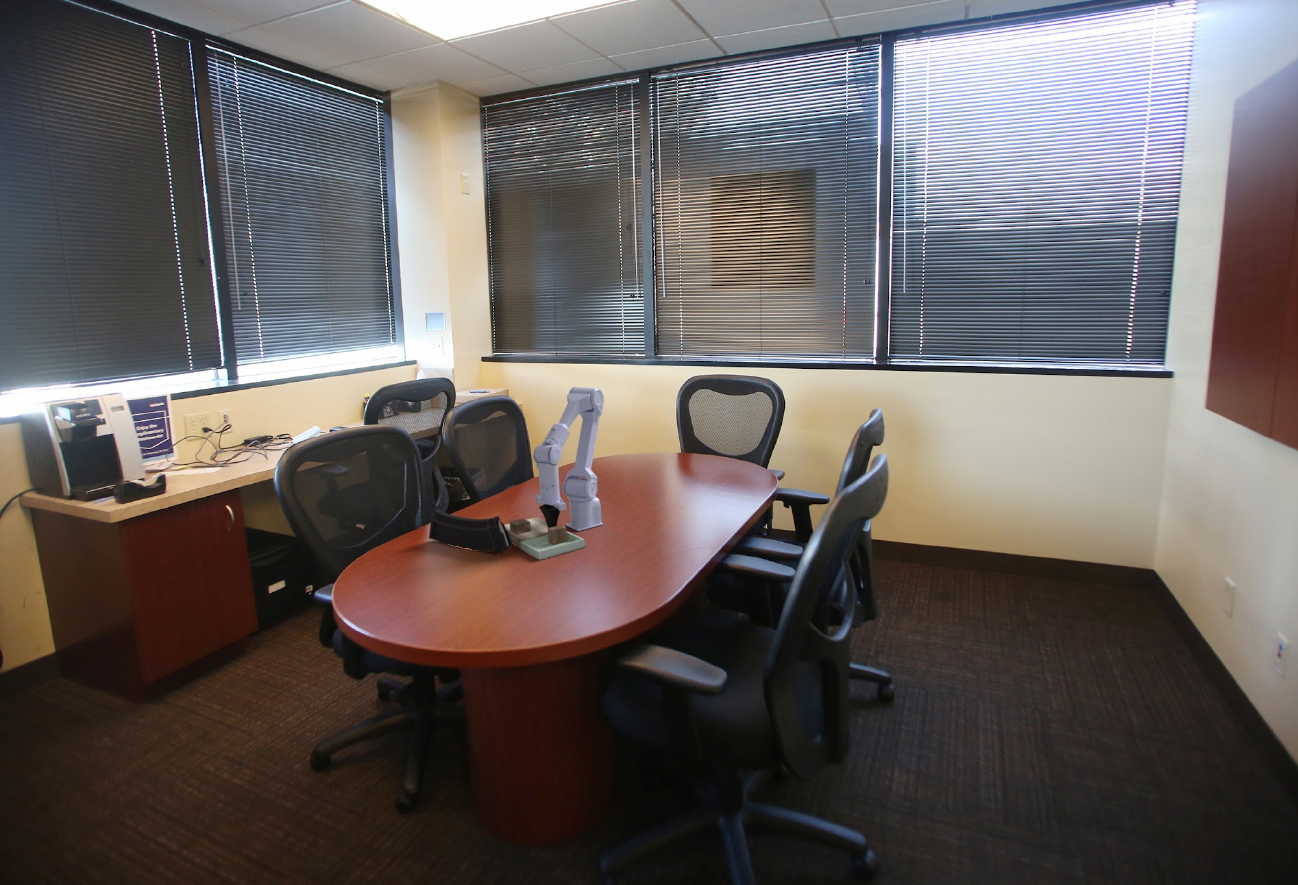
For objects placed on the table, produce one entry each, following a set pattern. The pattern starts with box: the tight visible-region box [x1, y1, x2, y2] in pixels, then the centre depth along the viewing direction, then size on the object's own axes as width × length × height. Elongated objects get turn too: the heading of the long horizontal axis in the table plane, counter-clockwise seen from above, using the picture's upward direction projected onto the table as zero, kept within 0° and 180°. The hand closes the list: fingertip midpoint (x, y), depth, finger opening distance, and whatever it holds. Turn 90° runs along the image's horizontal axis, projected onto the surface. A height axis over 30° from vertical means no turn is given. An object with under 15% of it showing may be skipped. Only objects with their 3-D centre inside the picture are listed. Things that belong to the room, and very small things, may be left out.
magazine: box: [428, 508, 514, 554], centre depth 208 cm, size 17×3×30 cm
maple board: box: [504, 516, 548, 549], centre depth 216 cm, size 14×16×3 cm
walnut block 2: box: [548, 524, 568, 545], centre depth 209 cm, size 4×4×3 cm
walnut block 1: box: [509, 517, 531, 535], centre depth 213 cm, size 4×4×3 cm
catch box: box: [520, 530, 586, 561], centre depth 205 cm, size 15×11×2 cm
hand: (552, 528), depth 212 cm, fingers closed
